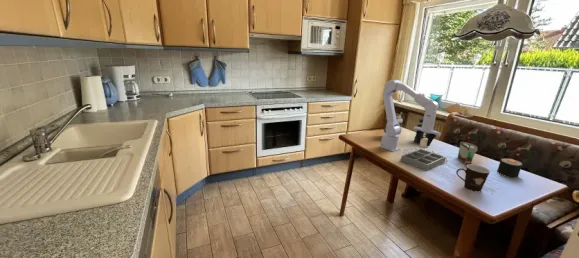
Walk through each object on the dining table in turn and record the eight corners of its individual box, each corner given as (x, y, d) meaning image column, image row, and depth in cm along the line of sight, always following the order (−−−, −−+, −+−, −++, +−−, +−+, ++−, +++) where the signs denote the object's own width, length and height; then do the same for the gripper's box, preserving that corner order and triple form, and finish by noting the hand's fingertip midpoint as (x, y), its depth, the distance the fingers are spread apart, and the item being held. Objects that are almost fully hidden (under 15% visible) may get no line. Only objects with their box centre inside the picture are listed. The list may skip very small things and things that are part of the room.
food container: (477, 166, 139) (482, 149, 136) (465, 165, 140) (470, 148, 137) (467, 158, 151) (471, 142, 148) (456, 156, 152) (460, 141, 149)
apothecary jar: (379, 137, 184) (382, 113, 179) (388, 134, 191) (392, 111, 186) (393, 141, 174) (398, 117, 169) (403, 139, 181) (407, 115, 176)
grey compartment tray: (400, 160, 142) (401, 155, 141) (419, 153, 154) (420, 148, 153) (426, 170, 131) (427, 165, 130) (444, 161, 143) (445, 156, 142)
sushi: (493, 171, 134) (498, 157, 131) (505, 170, 136) (509, 156, 133) (509, 178, 126) (514, 164, 124) (521, 177, 128) (526, 163, 126)
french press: (410, 139, 181) (416, 109, 174) (421, 139, 182) (427, 109, 176) (420, 145, 169) (427, 112, 163) (432, 145, 171) (440, 112, 164)
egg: (417, 146, 146) (419, 137, 145) (421, 145, 149) (423, 136, 147) (425, 148, 143) (427, 139, 141) (429, 147, 146) (431, 138, 144)
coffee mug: (484, 188, 115) (490, 168, 112) (483, 195, 109) (489, 174, 106) (455, 179, 122) (460, 160, 119) (452, 185, 116) (457, 166, 113)
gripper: (445, 124, 138) (440, 147, 142) (419, 118, 149) (415, 139, 153) (439, 126, 134) (434, 149, 138) (413, 120, 145) (409, 141, 149)
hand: (423, 144), depth 145 cm, fingers closed on egg, 4 cm apart
